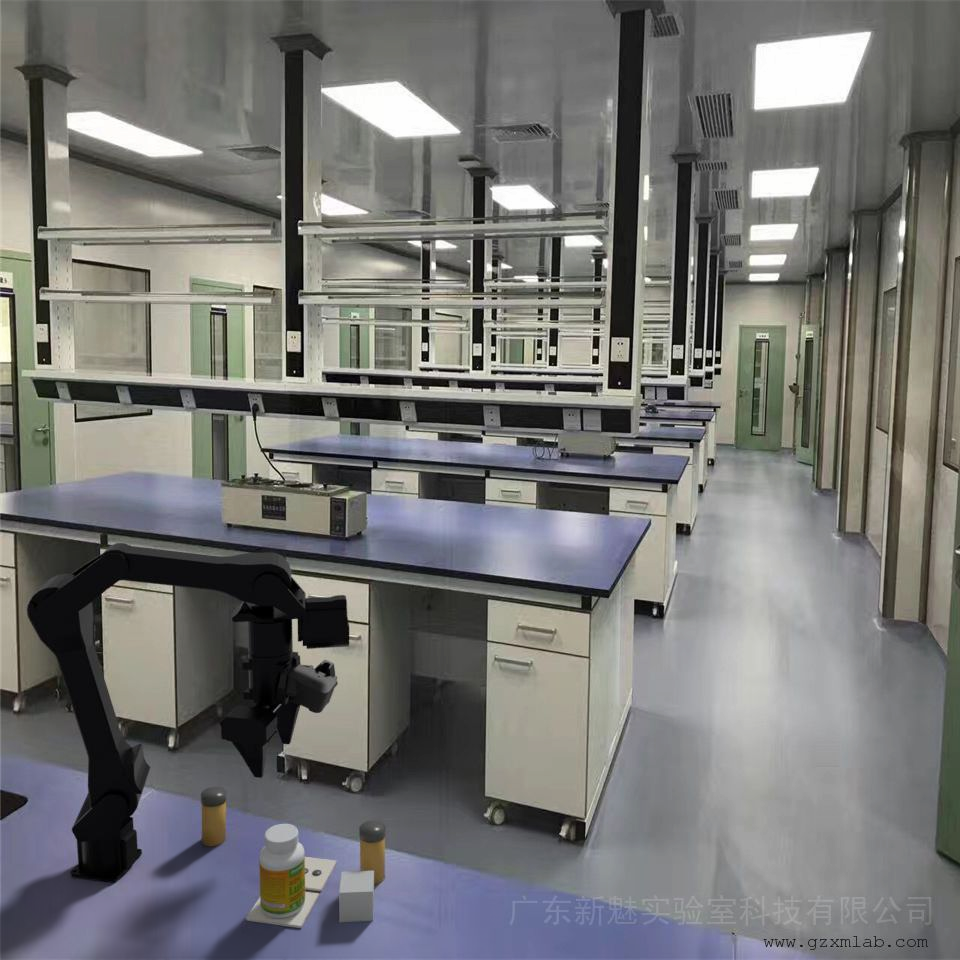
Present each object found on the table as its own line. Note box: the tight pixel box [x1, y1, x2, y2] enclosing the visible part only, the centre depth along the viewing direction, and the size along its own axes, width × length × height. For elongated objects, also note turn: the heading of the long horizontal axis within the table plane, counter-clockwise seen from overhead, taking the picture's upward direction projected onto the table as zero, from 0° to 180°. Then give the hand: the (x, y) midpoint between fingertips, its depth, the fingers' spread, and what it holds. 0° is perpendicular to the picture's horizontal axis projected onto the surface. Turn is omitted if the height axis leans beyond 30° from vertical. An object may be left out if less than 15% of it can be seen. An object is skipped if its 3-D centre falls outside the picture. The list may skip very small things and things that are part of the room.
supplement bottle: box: [258, 823, 306, 918], centre depth 102 cm, size 5×5×10 cm
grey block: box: [338, 870, 375, 923], centre depth 102 cm, size 4×4×4 cm
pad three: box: [305, 856, 338, 892], centre depth 109 cm, size 7×6×1 cm
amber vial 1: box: [200, 786, 228, 847], centre depth 116 cm, size 3×3×7 cm
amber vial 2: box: [358, 819, 387, 886], centre depth 108 cm, size 3×3×7 cm
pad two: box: [245, 891, 320, 929], centre depth 103 cm, size 7×6×1 cm
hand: (273, 759), depth 113 cm, fingers open, 9 cm apart
